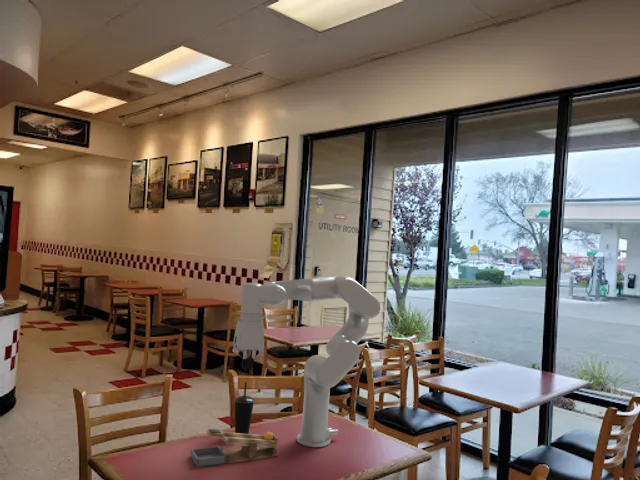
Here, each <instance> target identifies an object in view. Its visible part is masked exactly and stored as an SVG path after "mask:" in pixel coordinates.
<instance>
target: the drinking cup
mask: <svg viewBox="0 0 640 480" xmlns="http://www.w3.org/2000/svg"><path fill="white" fill-rule="evenodd" d="M247 385H248V383H247V381H245V382H244V387H243V388H244V390H243V395H239V396H237V397H235V398H234V399H233V401H234V433H242V434H250V426H251V423H252V414H253V409H254V404H255V401H256V400H255V398H254V397H252V396H250V395H247Z"/></svg>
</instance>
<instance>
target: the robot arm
mask: <svg viewBox="0 0 640 480" xmlns="http://www.w3.org/2000/svg"><path fill="white" fill-rule="evenodd" d="M337 299H341V300H343V301H345V302H346V303H347V304H348V318H347V319H346V322H345V323H344V324H343V325H342V326H341V328H339V330H338V331H337V332H336V333H335V334H334V335H333V336H332V337H331V338H330V339H329V341H328V342H327V343H326V346H325V352H326V353H327V355H328V357H325V356H323V355H320V354H315V355H311V356H310V357H309V358H308V359H307V360H306V361H305V364H304V368H303V371H304V372H303V376H304V378H303V379H304V393H303V404H302V406H303V407H302V416H301V417H302V419H301V432H300V433H299V434H297V436H296V441H297V442H298V443H299V444H300V445H302V446H304V447H309V448H322V447H326V446H329V445H330V444H331V436H337V435H339V429H334V428H332V427H328V421H329V409H330V408H329V407H330V406H329V405H330V394H331V393H330V392H331V391H330V389H331V388H333V387H335V386H336V385H337V384H338V383H339V382H341V380H343V378H344V377H345V376H347V374H348V373H349V371H351V369H353V367H354V366H355V365H356V364H357V362H358V361H359V358H360V353H361V351H360V347H359V345H358V344H359V342H360V341H361V340H362V339H363V338H364V337H365V336H366V333H367V332H368V327H369V319H374V318H376V317H377V316H378V315H379V314H380V312H381V303H380V301H379V299H378V298H377V297H376V296H375V295H374V294H372V293H371V292H370V291H369V290H368V289H366V288H365V287H364V286H363V285H362V284H360V283H359V282H358V281H357V280H355V279H354V278H352V277H349V276H344V275H332V276H322V277H314V278H313V277H311V278H301V279H287V280H279V281H269V282H266V283H264V284H262V283H257V282H246V283H244V284H243V285H242V292H241V305H240V306H241V307H240V320H237V323H236V327H235V331H234V338H233V348H232V352H233V353H234V354H237V355H238V356H240V358H241V365H240V366H241V368H242V369H243V370H244V371H248V370H249V371H253V368H254V361H255V359H256V357H257V356H258V355H259V354H261V353H264V352H265V348H264V346H265V345H264V343H265V328H264V322H263V319H266V314H263V304H265V305H270V306H279V305H281V304H283V303H284V302H285V301H288V300H289V301H290V300H292V301H303V302H318V301H325V300H337ZM248 351H249V356H248V357H247V355H248V354H247V353H248Z"/></svg>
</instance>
